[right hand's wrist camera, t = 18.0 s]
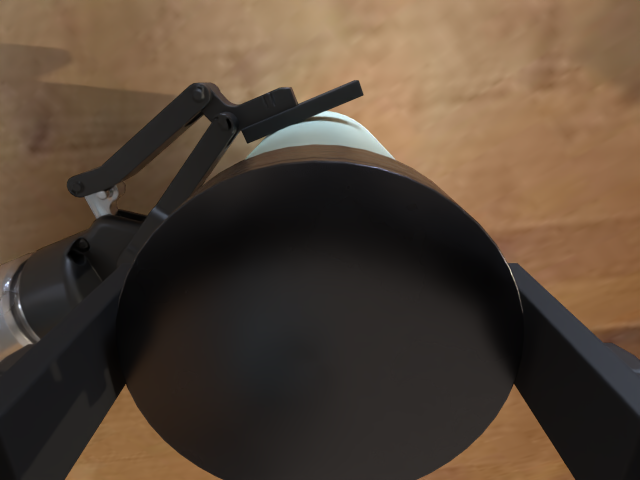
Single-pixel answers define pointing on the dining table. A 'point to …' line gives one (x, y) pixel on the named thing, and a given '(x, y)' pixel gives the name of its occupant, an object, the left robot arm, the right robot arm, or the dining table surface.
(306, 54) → the dining table surface
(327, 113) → the jar
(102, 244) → the left robot arm
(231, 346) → the lid
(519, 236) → the dining table surface
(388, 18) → the dining table surface
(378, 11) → the dining table surface
